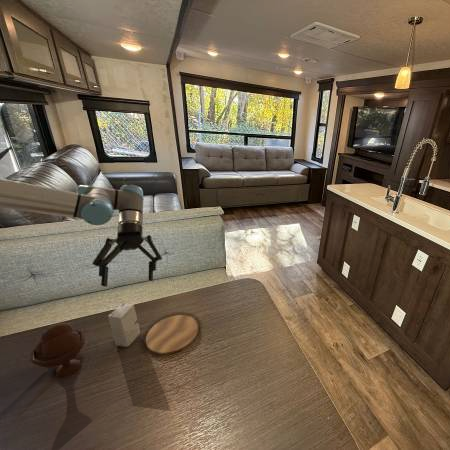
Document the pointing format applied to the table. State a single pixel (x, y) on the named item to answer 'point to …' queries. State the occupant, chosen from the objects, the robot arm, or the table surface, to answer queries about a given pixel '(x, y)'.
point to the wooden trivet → (172, 334)
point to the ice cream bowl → (59, 349)
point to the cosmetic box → (124, 325)
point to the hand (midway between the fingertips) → (128, 283)
